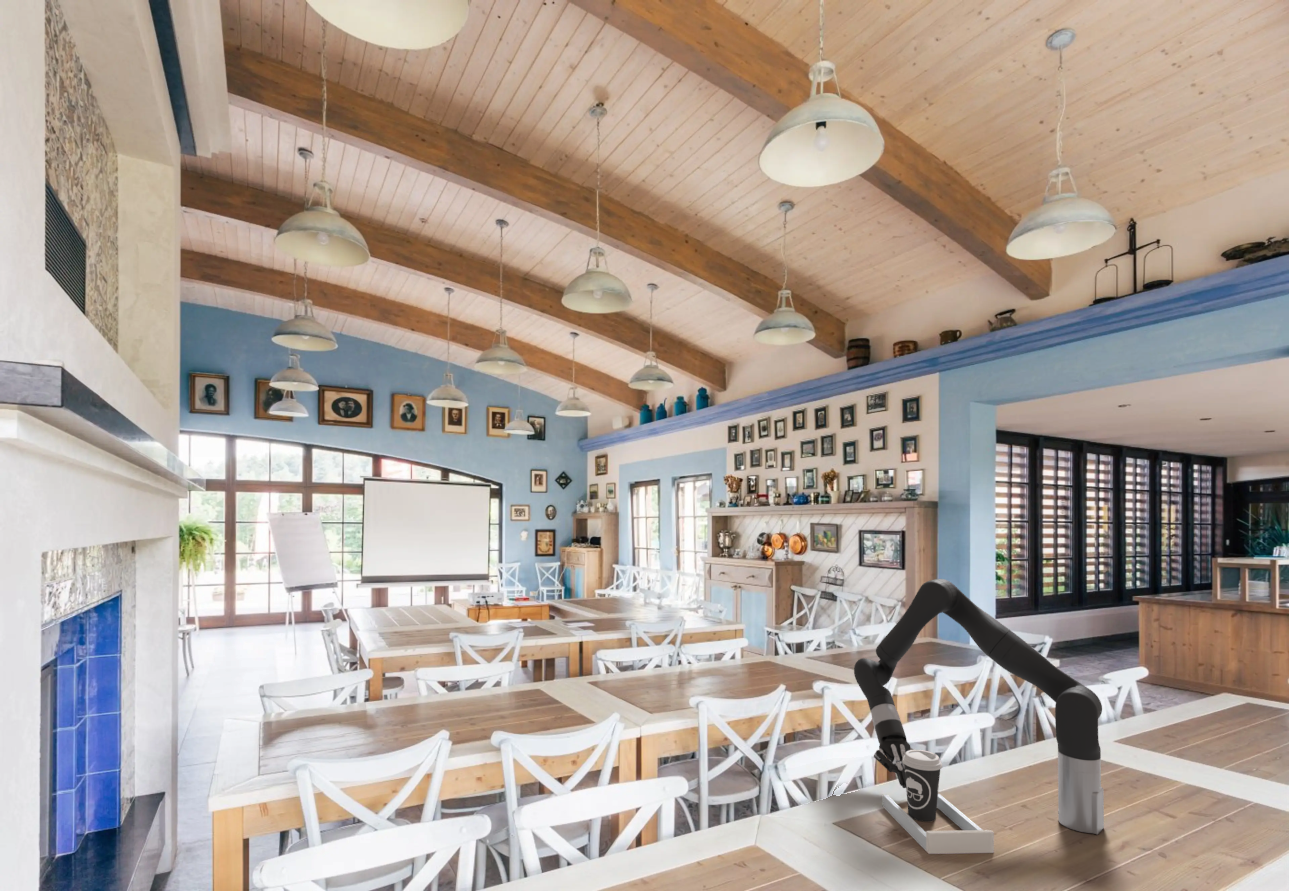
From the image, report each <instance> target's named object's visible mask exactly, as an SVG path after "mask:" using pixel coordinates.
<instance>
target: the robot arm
mask: <svg viewBox="0 0 1289 891" xmlns="http://www.w3.org/2000/svg"><path fill="white" fill-rule="evenodd" d="M939 614H945V615H946V616H948V617H949V618H950V619H952V620H953V621H954V622H956V623H957V624H958V625H960V626H961V627H962V628H963V629H964V630H965V631H966V633H968V635H969V636H970V638H971V639H972V640H973V642H974V643H975V644H976V646H978V648H979V649H980V650H981V651H982V653H984V654H985V655H986V656H987V657H988V658H990V659H991V660H992V661H993V662H994V663H996V664H998V665H999V666H1000V667H1001V668H1002V669H1004V670H1005V671H1007V672H1008V673H1011V674H1012V675H1014V676H1015V677H1018V678H1020V679H1022V680H1024V681H1026V682H1028V683H1029V684H1032V685H1033V686H1034V687H1036V688H1038V689H1039V690H1041V691H1042V692H1043V693H1044V694H1046V696H1048V697H1049V698H1050V699H1051V700H1052V701H1054V702H1055V708H1054V709H1055V710H1054V713H1055V714H1054V718H1055V720H1054V721H1055V739H1056V742H1057V803H1058V804H1057V805H1058V810H1057V814H1058V815H1057V816H1058V822H1059V823H1060V825H1062V826H1064V827H1065V828H1067V829H1070V830H1073V831H1076V832H1082V833H1085V834H1086V833H1088V834H1095V835H1099V834H1100V833H1101V831H1102V830H1103V829H1104V828H1105V808H1104V805H1105V804H1104V802H1105V801H1104V800H1105V799H1104V798H1105V797H1104V796H1105V795H1104V793H1105V792H1104V790H1105V789H1104V788H1103V787H1102V776H1101V775H1102V774H1101V773H1102V772H1101V771H1102V770H1101V768H1102V767H1101V766H1102V764H1101V763H1102V762H1101V750H1102V749H1101V746H1100V741H1099V718H1100V717H1101V715H1102V712H1103V705H1102V701H1101V699H1100V698H1099V697H1098V695H1097V694H1096V693H1095V692H1094V691H1093V690H1091V689H1090V688H1089V687H1087V685H1086V686H1085V685H1084V684H1083V683H1081V682H1079V681H1077V680H1076V679H1075V678H1073V677H1071V676H1070V675H1069V674H1067V673H1066V672H1063V671H1062V670H1061V669H1059V668H1058V667H1056V666H1055V665H1054V664H1053V663H1051V662H1050V661H1049V660H1048V659H1047V658H1046V657H1044V656H1043V655H1042V654H1041V653H1039V652H1038V651H1037V650H1036V649H1035V648H1034V647H1032V646H1031V645H1029V644H1028V643H1027V642H1026V641H1025V640H1024V639H1022V638H1021V637H1020V636H1019V635H1017V634H1016V633H1015V632H1013V631H1012V630H1011V629H1010V628H1008V627H1006V626H1005V625H1004V624H1002V623H1001V622H1000V621H998V620H997V619H996V618H994V617H993V616H992V615H990V614H989V613H987V612H986V611H984V610H983V609H981V608H980V607H979V606H978V605H977V604H975V603H974V602H973V601H972V600H971V599H970V598H969V597H968V596H967V595H965V593H963V592H962V591H961V590H960V588H958V587H957V586H956V585H955V584H953V583H952V582H951V581H949V580H947V579H945V578H944V579H943V578H935V579H932V580H931V579H930V580H928V581H926V582H924V583H922V585H920V587H919V589H918V591H917V592H916V594H915V596H914V597H913V599H912V601H911V603H910V605H909V606H908V608H907V609H906V611H905V612H904V614H903V615H902V617H900V618H899V621H897V623H896V624H894V626H893V627H892V629H891V630H890V631H889V632H888V633H887V634H886V636H885V637H884V638H883V639H882V640H881V642H879V644H878V645H877V647H876V648H875V654H876V656H877V658H878V659H879V660H878V661H876V660H873V659H869V658H866V657H865V658H864V657H863V658H859V659H858V660H856V662H855V664H854V667H853V673H854V674H853V676H854V677H855V680H856V683H857V685H858V686H859V688H860V690H861V692H862V693H863V695H864V696H865V698H866V700H867V704H868V707H869V710H870V715H871V720H872V725H873V727H874V730H875V735H876V737H877V740H878V743H879V747H878V749H877V750H876V751H875V753H874V754H873V758H874V759H875V760H876V761H877V762H878V763H879V764H880V765H882V767H884V768H885V770H887V771H888V772H889V773H895V774H896V776H897V779H898V783H899V786H900V787H902V788H903V789H906V779H905V767H904V763H903V762H902V759H903V757H904V755H905V753H906V752H907V751H909V750H914V749H913V748H912V747H911V744H909V742H908V740H907V736H906V733H905V729H904V726H903V723H902V721H901V717H900V715H899V711H898V710H897V708H896V704H895V701H894V699H893V695H892V693H891V691H890V690H889V689H888V688H886V687H885V685H887V684H888V683H889V682H890V680H891V679H892V676H893V674H894V671H895V670H896V667H897V665H898V662H899V661H901V659H903V657H904V656H905V655H906V653H908V651H909V650H910V649H911V648H912V646H913V644H914V643H915V641H916V640H917V638H918V636H919V634H920V632H922V629H923V628H925V627H926V625H927V624H928V623H930V622H931V621H932V620H933V619H934V618H935V617H937V616H938V615H939Z"/></svg>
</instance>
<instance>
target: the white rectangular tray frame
mask: <svg viewBox="0 0 1289 891" xmlns="http://www.w3.org/2000/svg"><path fill="white" fill-rule="evenodd" d="M881 802H882V804H881V806H882V807H883V808H884V809H885V811H886V812H888V814H889V815H890V816H891V817H892V818H893V819H894V820H895V821H896V822H897V823H898V824H899V825H900V827H901V828H903V829H904V830H905V831H906V832H907V833H908V834H909V835H910V836H911V837H912V838H913V840H915V841H916V843H917V844H918V845H919V846H921V848H922V849H923V850H925V852H926V853H928V855H938V854H939V855H941V854H942V855H945V854H947V855H948V854H955V855H956V854H994V853H995V832H994V831H993V830H991V829H983V828H981V827H980V826H979V825H978V824H977V823H975V822H974V821H972V820H971V819H970V818H969V817H968V816H967V815H965V813H963V812H962V811H960V809H958V808H957V807H956V806H955V805H953V804H952V802H950V801H949V800H948V799H946V798H945V797H944V796H943V795H942V794H941V793H938V799H937V810H939V811H941V813H943V814H944V816H946V817H947V818H948V819H950V821H952V822H953V823H954V824H955V825H956V826H958V827H959V828H960V829H961V830H960V829H959V830H956V829H955V830H953V829H952V830H924V828H922V827H921V826H920V825H919V824H918V823H917V822H916V820H915V819H913V818H911V817H910V816H909V815H908V812H906V811H905V810H904V809H903V808H902V807H901V806H900V805H898V804H897V803H896V802H895V800H894V799H893V798H891V796H890V795H889V794H887V793H886V794H882V801H881Z"/></svg>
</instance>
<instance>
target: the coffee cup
mask: <svg viewBox="0 0 1289 891" xmlns="http://www.w3.org/2000/svg"><path fill="white" fill-rule="evenodd" d="M902 762H903V763H904V767H905V779H906V788H905V790H906V791H905V792H906V801H907V802H906V803H907V814H908V815H909V816H910V817H911V818H912V819H913V820H914V821H919V822H927V823H928V822H929V823H930V822H935V820H936V818H937V810H938V808H937V799H938V794H939V786H940V778H941V777H940V775H941V770H942V768H943V763H942V761H941V759H940V757H939V755H938V754H936V753H934V752H931V751H927V750H922V749H913V750H909V751H907V752H906V753H905V755H904V757H903V759H902Z"/></svg>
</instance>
